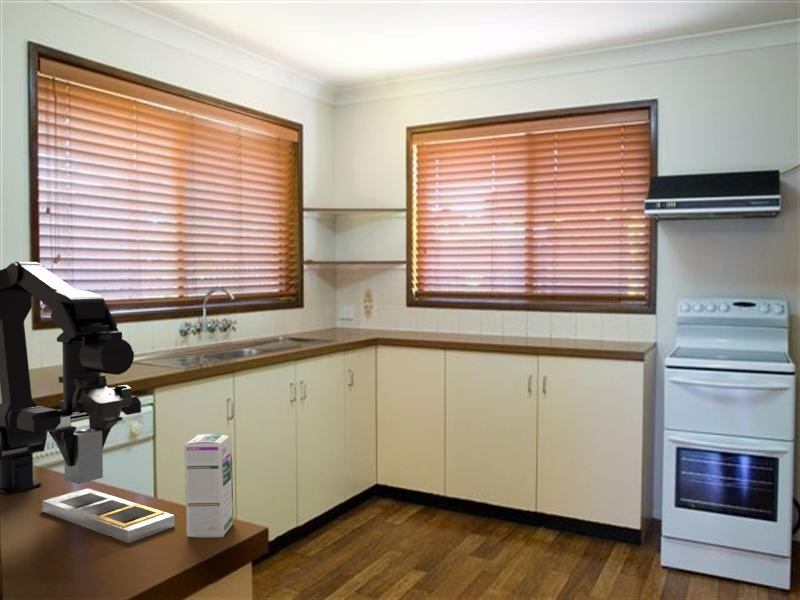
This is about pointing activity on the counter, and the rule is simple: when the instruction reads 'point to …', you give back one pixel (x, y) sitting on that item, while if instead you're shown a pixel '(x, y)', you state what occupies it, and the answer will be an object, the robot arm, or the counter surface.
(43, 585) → the counter surface
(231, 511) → the syrup box
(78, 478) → the gray knob block
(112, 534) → the socket frame
